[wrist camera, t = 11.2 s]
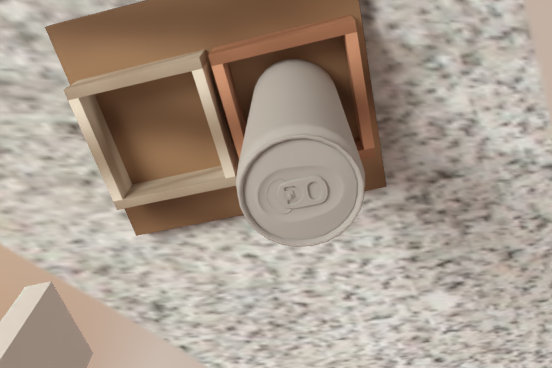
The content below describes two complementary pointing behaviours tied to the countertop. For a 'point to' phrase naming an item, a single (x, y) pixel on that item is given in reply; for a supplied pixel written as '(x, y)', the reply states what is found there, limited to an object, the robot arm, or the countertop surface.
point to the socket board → (200, 94)
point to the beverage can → (298, 158)
